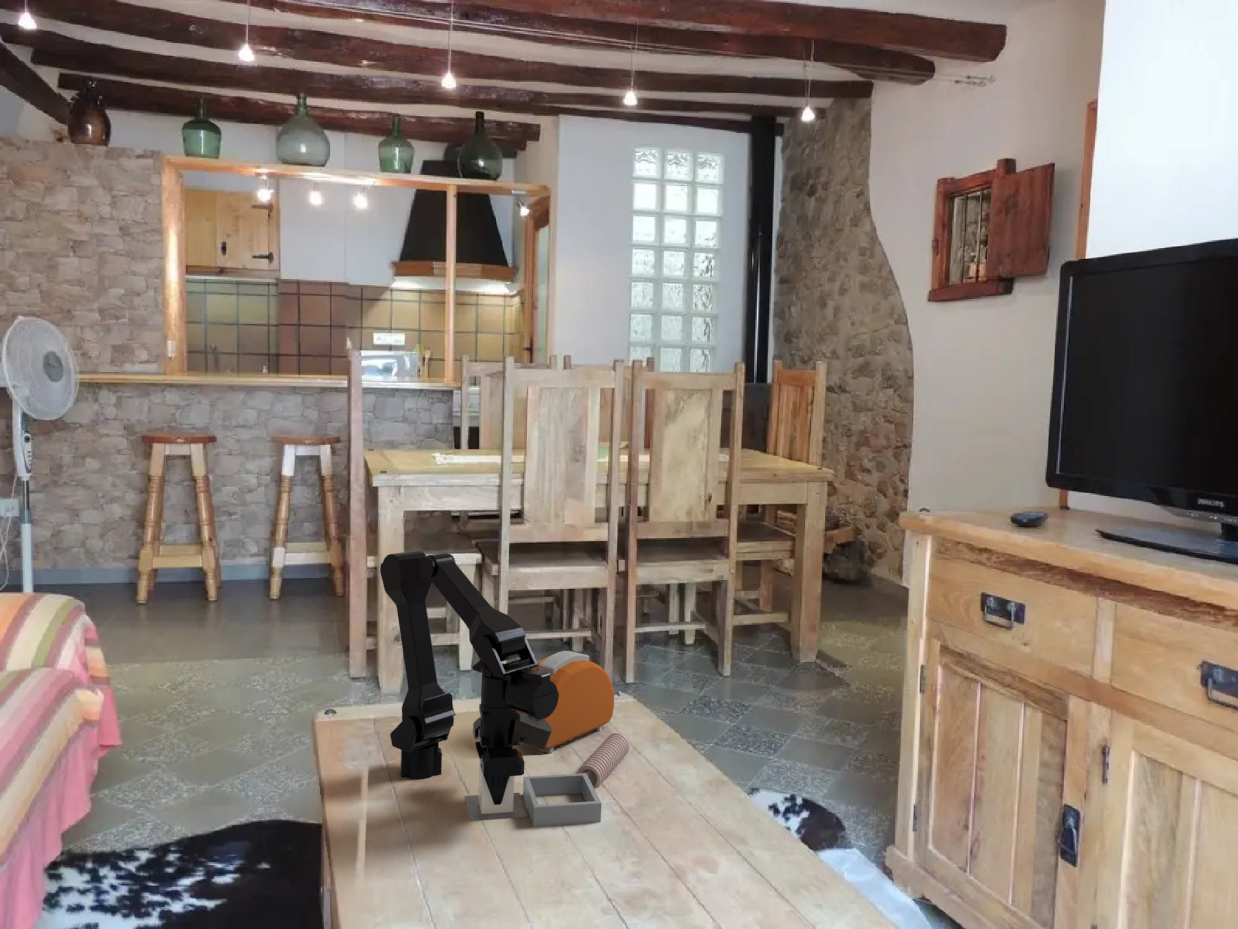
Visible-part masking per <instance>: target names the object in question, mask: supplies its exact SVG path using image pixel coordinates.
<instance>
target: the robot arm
mask: <svg viewBox="0 0 1238 929" xmlns="http://www.w3.org/2000/svg"><path fill="white" fill-rule="evenodd" d="M379 569H380V570H379V574H380V577H381V581H382V584H383V588H384V592H385V594H386V595H388V597H389V598H390V600H391V601H392V602H393V603H394V605H395V606H396V612H397V618H398V625H399V633H400V639H401V640H400V641H401V646H402V652H403V654H402V655H403V659H404V660H403V661H404V666H405V674H406V679H407V680H406V682H407V692H406V695H405V697H404V700H403V702H402V706H401V722H399V724H398V725H397V726H396V727H395V728H394V729H393V730H392V731H391V732H390V734H389V736H390V741H391V746H392V747H393V748H396V749H398V750H400V778H402V779H403V778H406V779H408V780H414V781H415V780H426V779H429V778H432V777H437V776H441V775H442V765H443V753H442V748H441V747H440V744H439V743H442V742H445V741H448V739H449V735H450V732H451V729H452V727H453V726H454V724H455V722H454V721H455V718H454V717H455V716H456V712H455V709H454V708H455V707H454V704H453V701H454V700H453V695H452V694H451V692H450V691H449V692H445V690H444V689H443V688H442V687H441V686H440V685H439V682H438V677H437V669H436V663H435V658H434V650H433V643H432V637H431V635H432V634H431V629H430V622H429V616H428V609H427V598H428V596H429V593H430V590H431V587H432V585H433V586H434V587H435V588H436V589H437V591H439V593H440V594H441V596H442V597H443V598H444V599H445V600H446V602H447V603H448V604H449V606H450V607H451V608H452V609H453V610H454V611H455V613H456V614H457V616H459V618H460V619H461V620H462V621H463V623H464V624H465V626H466V627H467V629H468V638H469V643H470V645H471V646H472V648H473V649H474V651H475V653H476V655H477V656H478V658H479V661H478V662H477V661H476V662H475V664H474V665H472V667H471V668H472V671H474V672H478V673H481V688H480V689H481V690H480V691H481V692H480V703H479V705H478V711H479V716H480V717H478V718H477V719H476V720H475V721H474V722H473V724H472V735H473V739H474V740H478V739H479V741H476V742H475V743H474V744H475V745H474V746H475V749H476V752H477V755H478V758H479V760H480V759H481V764H480V763H479V764H480V766H481V770H482V773H483V776H484V778H485V781H486V784H487V786H488V789H489V792H490V794H491V797H492V800H493V803H494V805H500V804H501V803H502V800H503V796H504V793H505V790H506V786H507V783H508V780H509V777H510V776H514V777H518V776H519V777H520V776H523V775H525V760H524V757H523V754H522V753H521V752H520V751H519V750H518V749H517V748H516V747H515V746H520V745H521V744H520V741H522V742H525V743H528V744H531V745H535V746H537V747H538V748H540V749H545V748H546V745H547V743H548V740H549V738H550V735H551V733H552V729H551V727H550V725H549V723H548V722H546V720H545V719H544V718H547V717H549V716H550V715H551V714H552V713H553V711H554V710H555V708H556V706H557V703H558V699H559V692H558V690H557V687H556V685H555V684H554V683H553V682H551V681H550V673H547V672H540V671H536V670H533V668H536V667H538V663H537V662H538V661H537V659H536V655H535V654H534V651H532V648H531V646H530V644H529V641H528V639H527V636H526V633H525V631H524V629H523V627H522V626H521V625H520V624H519V623H518V622H516V621H515V619H513V618H512V617H511V616H510V615H508V614H506V613H504V612H502V611H500V610H497V609H495V607H493V606H492V605H491V604H490V603H489V602H488V601H487V600H486V598H485V597H484V596H483V595H482V593H481V592H480V591H479V590H478V589H477V587H476V586H475V585H474V584H473V583H472V581H471V580H470V579H469V577H468V576H467V575H466V574H465V573H464V572H463V571H462V569H461V568H460V566H458V564H457V562H456V559H455V558H454V555H452V554H451V553H448V552H440V553H434V554H427V555H426V553H424V551H421V550H412V551H404V552H403V551H402V552H395V553H390V554H388V555H386V556H385V557H384V558H383V561H382V562H381V563H380V568H379ZM517 658H519V659H517ZM512 659H517V660H513V661H510V662H506V661H509V660H512ZM502 662H506V663H502ZM518 711H521V712H524V713H523V714H520V713H519V712H518ZM541 719H543V720H541ZM513 747H514V748H513Z"/></svg>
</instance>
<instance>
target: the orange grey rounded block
mask: <svg viewBox="0 0 1238 929" xmlns="http://www.w3.org/2000/svg"><path fill="white" fill-rule="evenodd" d="M537 663H538V667H536V668H533V670H536V671H540V672H547V673H550V681H551V682H553V683H554V684H555V685H556V687H557V690H558V692H559V699H558V703H557V706H556V708H555V710H554V711H553V713H552V714H551V715H550V716H549V717H547V718H544V719H545V720H546V722H548V723H549V725H550V727H551V729H552V733H551V735H550V738H549V740H548V743H547V745H546V748H545V749H540V748H538V747H537V746H535V745H531V744H528V743H525V742H522V741H520V745H524V746H526V747H529V748H533V749H535V750H538V751H541V752H544V753H547V754H552V753H553V752H554V749H555V747H556V746H558V745H561V744H564V743H566V742H569V741H570V740H573V739H575V738H577V737H580V736H582V735H584V734H587V733H589V732H591V731H597V732H601V731H602V730H603V726H604V725H606V724H608V723H609V722H610V721H611V719H612V718H613V715H614V709H615V690H614V687H613V683H612V680H611V678H610V676H609V674H608V672H607V671H606V670H605V669H604V668H603V667H602V666H601V665H599V664H597V663H595V662H593V661H590V655H587V654H584V653H580V652H576V651H572V650H562V651H558V652H556V653H554V654H552V655H548V656H547V657H544V658H542V659H541V660H538V661H537ZM518 712H519V713H520V714H523V713H524V712H521V711H518ZM541 720H543V719H541Z"/></svg>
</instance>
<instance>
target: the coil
mask: <svg viewBox="0 0 1238 929" xmlns="http://www.w3.org/2000/svg"><path fill="white" fill-rule="evenodd" d="M629 752H630V742H629V740H628V739H627V737H626V736H625V735H624V734H622V733H620V732H613V733H611V734H610V735H609V736H608V737H607V738H606V739H604V741H603V742H602V743H601V744H600V745H599V746H598V747H597V748H596V750H595V751H594V752H592V754H591V755H590V756H589V757H588V758H587V759H586V760H585V761H584V762H583V763H582V764H581V766H580V767H579V768H578V770H576V774H580V773H586V774H587V776H588V777H589V776H590V774H592V772H593V773H594V774H595V775H596V782H595V784H594V785H593V787H594V788H600V787H601V785H603V783H604V782H605V780H607V778H608V777H609V776H610V775H611V774H612V772H613V771H614V770H615V769H616V767H617V766H619V764H620V763H621V762H622V761H623V760H624V758H625V757H626V756H627V755H628V753H629Z"/></svg>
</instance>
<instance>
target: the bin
mask: <svg viewBox="0 0 1238 929" xmlns="http://www.w3.org/2000/svg"><path fill="white" fill-rule="evenodd" d="M570 794H573V795H574V794H582V796H583V799H584V800H585V801H580V802H579V801H577V802H576V801H575V802H566V803H565V802H564V803H563V802H561V803H549V804H539V802H538V798H537V797H539V796H541V797H542V796H552V795H553V796H554V795H557V796H558V795H570ZM522 796H523V798H524V801H525V802H524V803H525V805H526V807H527V811H528V814H529V817H530V820H531V823H532V827H548V826H563V825H564V826H565V825H575V824H591V823H593V824H594V823H601V820H602V800H600V797H599V795H598V793H597V792H596V789H595V787H594V785H593V783H592V781H591V779H590V778H589V776H587V774H586V773H580V774H577V773H568V774H567V773H566V774H549V775H548V774H546V775H530V776H523V785H522Z"/></svg>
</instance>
